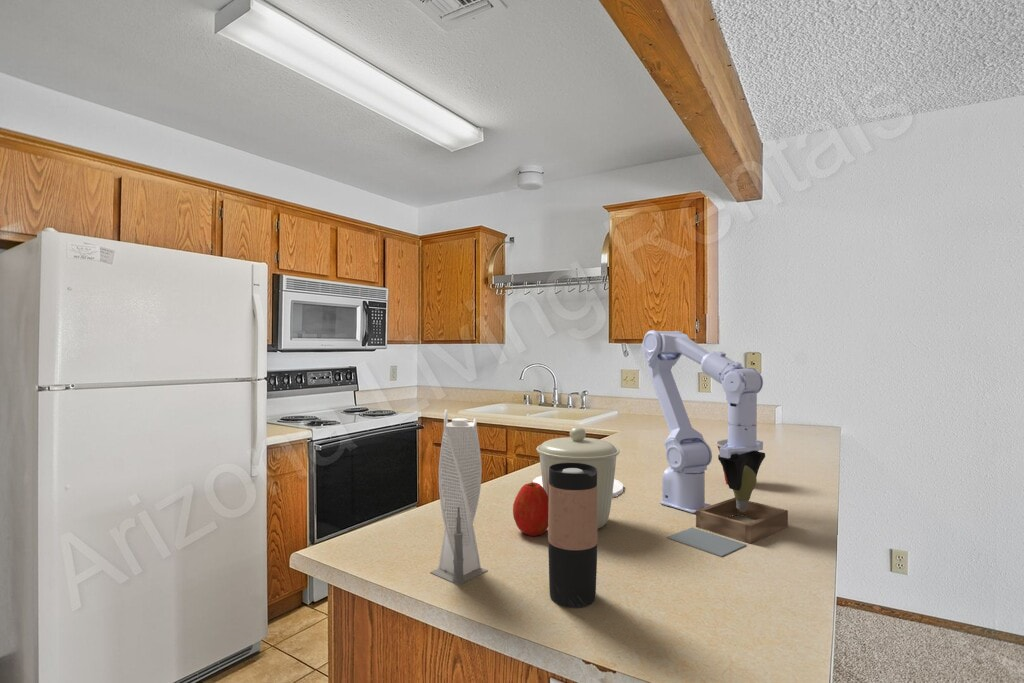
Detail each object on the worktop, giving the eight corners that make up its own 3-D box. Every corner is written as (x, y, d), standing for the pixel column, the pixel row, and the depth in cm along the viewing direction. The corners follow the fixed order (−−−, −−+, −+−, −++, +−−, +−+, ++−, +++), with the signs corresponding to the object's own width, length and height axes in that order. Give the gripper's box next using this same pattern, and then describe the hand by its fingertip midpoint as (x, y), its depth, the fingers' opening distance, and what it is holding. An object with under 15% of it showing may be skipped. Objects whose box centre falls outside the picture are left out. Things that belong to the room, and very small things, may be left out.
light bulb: (759, 516, 109) (759, 468, 109) (730, 514, 110) (730, 467, 110) (753, 508, 114) (753, 462, 114) (726, 506, 115) (726, 461, 116)
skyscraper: (424, 572, 90) (425, 410, 90) (458, 557, 96) (459, 406, 96) (458, 587, 85) (459, 415, 85) (492, 570, 91) (492, 410, 91)
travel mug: (544, 585, 84) (544, 462, 84) (590, 584, 85) (591, 461, 85) (552, 609, 77) (552, 474, 77) (603, 607, 77) (603, 473, 77)
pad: (666, 537, 106) (666, 536, 106) (692, 528, 111) (692, 527, 111) (721, 557, 96) (721, 555, 96) (746, 545, 102) (746, 544, 102)
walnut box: (696, 526, 112) (696, 510, 112) (735, 512, 122) (735, 497, 122) (750, 543, 102) (750, 526, 102) (787, 526, 112) (787, 510, 112)
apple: (520, 523, 114) (520, 474, 114) (556, 527, 111) (556, 477, 111) (507, 536, 106) (507, 484, 106) (546, 541, 103) (546, 487, 103)
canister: (624, 515, 119) (624, 423, 120) (613, 543, 102) (613, 436, 102) (548, 507, 125) (548, 419, 125) (525, 532, 108) (526, 431, 108)
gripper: (742, 429, 105) (742, 497, 105) (776, 423, 114) (776, 485, 114) (710, 425, 110) (710, 489, 110) (745, 419, 119) (745, 478, 119)
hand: (741, 486), depth 112 cm, fingers closed on light bulb, 5 cm apart
